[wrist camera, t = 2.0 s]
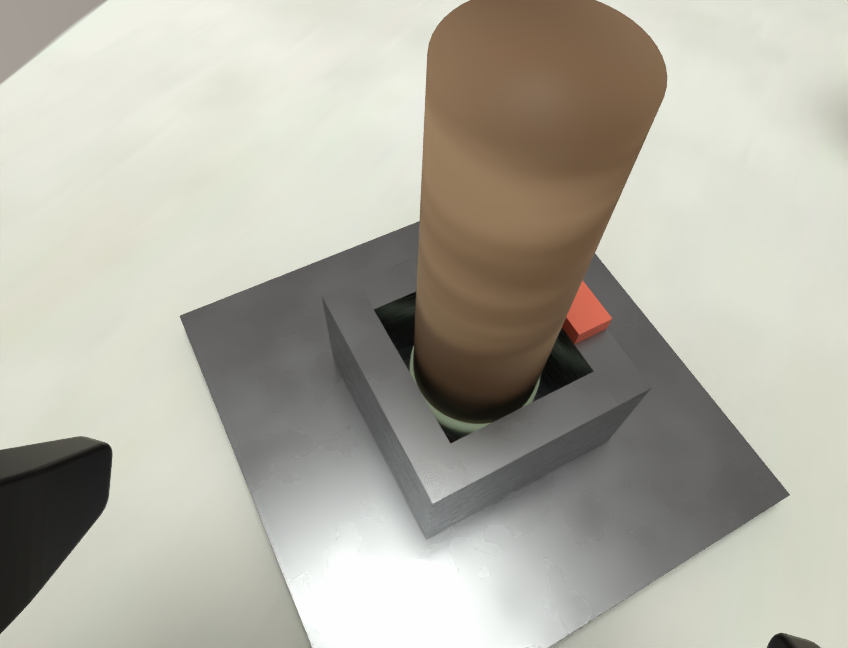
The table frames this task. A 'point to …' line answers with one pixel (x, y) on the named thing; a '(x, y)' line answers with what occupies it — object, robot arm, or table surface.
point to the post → (518, 188)
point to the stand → (464, 461)
